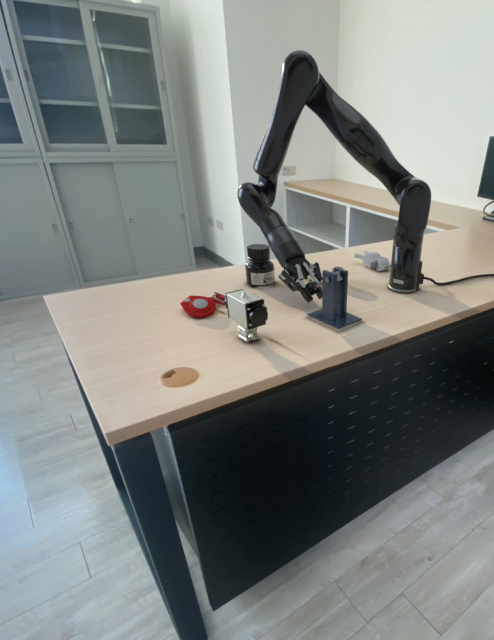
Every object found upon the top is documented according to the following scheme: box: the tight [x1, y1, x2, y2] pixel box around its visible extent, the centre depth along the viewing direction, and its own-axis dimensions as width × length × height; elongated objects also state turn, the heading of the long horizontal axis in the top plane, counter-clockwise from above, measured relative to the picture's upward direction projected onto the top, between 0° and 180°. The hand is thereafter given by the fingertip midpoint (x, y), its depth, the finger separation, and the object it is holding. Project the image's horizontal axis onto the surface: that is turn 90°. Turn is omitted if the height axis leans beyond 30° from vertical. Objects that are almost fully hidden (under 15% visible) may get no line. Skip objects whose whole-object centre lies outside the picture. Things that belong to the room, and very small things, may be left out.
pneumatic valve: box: [224, 288, 269, 343], centre depth 96 cm, size 6×12×12 cm, turn 46°
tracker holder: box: [179, 291, 226, 319], centre depth 111 cm, size 12×4×10 cm
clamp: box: [306, 266, 363, 330], centre depth 107 cm, size 12×9×14 cm
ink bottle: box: [245, 243, 276, 289], centre depth 128 cm, size 10×9×12 cm
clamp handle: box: [305, 271, 343, 296], centre depth 108 cm, size 14×4×4 cm
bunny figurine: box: [352, 250, 391, 272], centre depth 152 cm, size 10×5×15 cm
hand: (316, 299), depth 112 cm, fingers closed on clamp handle, 3 cm apart
